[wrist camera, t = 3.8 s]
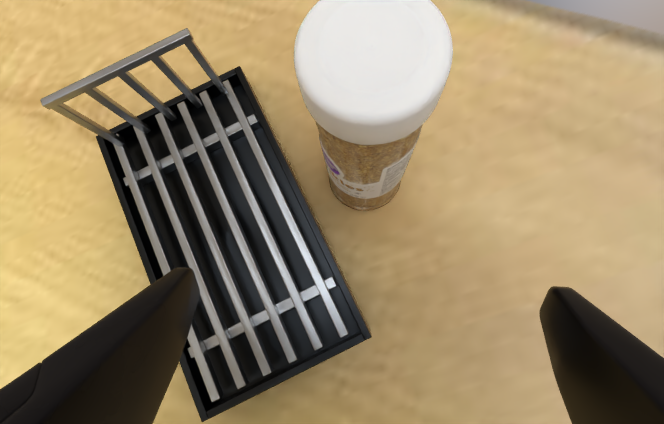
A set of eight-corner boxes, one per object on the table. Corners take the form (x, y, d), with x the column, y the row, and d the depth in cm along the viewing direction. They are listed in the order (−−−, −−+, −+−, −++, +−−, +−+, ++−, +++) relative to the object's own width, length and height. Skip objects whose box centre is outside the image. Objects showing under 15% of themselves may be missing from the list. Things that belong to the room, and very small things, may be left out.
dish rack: (217, 408, 21) (136, 480, 14) (118, 148, 25) (9, 89, 17) (370, 331, 22) (376, 359, 14) (250, 84, 25) (200, -4, 17)
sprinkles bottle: (315, 178, 24) (257, 50, 10) (363, 129, 24) (368, -57, 11) (367, 227, 23) (377, 154, 10) (417, 175, 23) (492, 35, 10)
